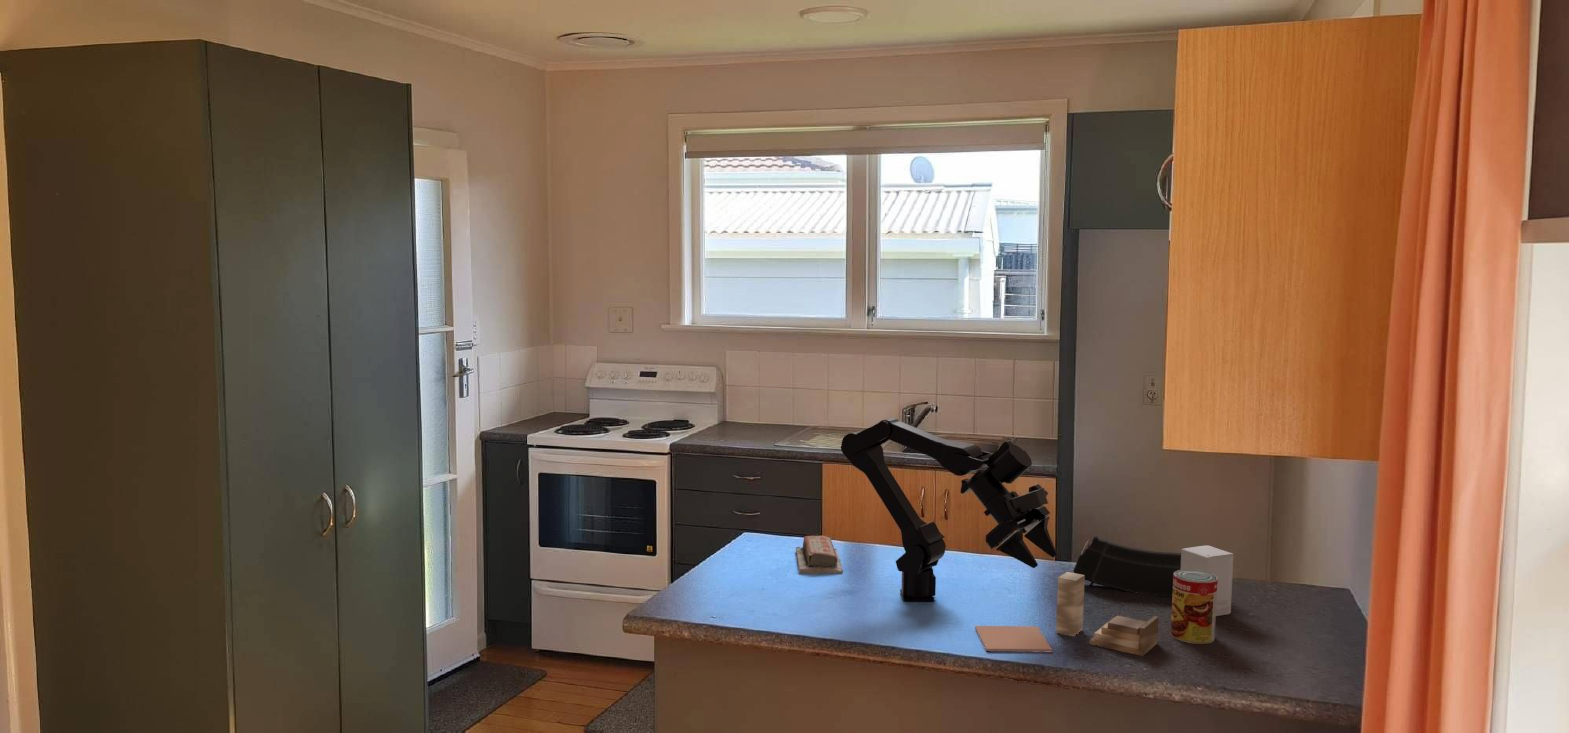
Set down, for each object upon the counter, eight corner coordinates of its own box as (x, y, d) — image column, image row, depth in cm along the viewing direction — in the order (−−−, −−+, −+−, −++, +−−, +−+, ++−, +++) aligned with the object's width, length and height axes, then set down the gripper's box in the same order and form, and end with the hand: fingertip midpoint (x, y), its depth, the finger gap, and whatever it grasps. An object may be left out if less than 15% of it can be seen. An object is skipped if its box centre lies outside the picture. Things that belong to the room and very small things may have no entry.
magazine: (1237, 558, 231) (1098, 505, 240) (1237, 562, 228) (1096, 508, 237) (1208, 631, 235) (1071, 575, 244) (1208, 636, 232) (1070, 579, 241)
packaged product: (795, 533, 265) (836, 533, 265) (795, 553, 265) (836, 553, 266) (799, 554, 247) (843, 554, 247) (799, 575, 248) (843, 575, 248)
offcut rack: (1089, 644, 206) (1090, 617, 205) (1105, 632, 212) (1106, 605, 211) (1142, 656, 200) (1144, 628, 199) (1157, 643, 206) (1158, 616, 205)
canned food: (1166, 628, 214) (1169, 568, 213) (1207, 630, 214) (1211, 570, 212) (1176, 643, 207) (1179, 580, 205) (1219, 645, 206) (1223, 582, 204)
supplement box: (1231, 614, 223) (1235, 553, 222) (1203, 618, 220) (1206, 557, 219) (1205, 603, 230) (1208, 544, 228) (1177, 607, 227) (1180, 547, 226)
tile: (986, 651, 201) (986, 648, 201) (975, 628, 213) (975, 625, 213) (1051, 652, 201) (1052, 649, 201) (1036, 629, 213) (1037, 626, 213)
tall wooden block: (1056, 633, 211) (1058, 577, 210) (1065, 626, 215) (1067, 571, 214) (1073, 637, 209) (1075, 580, 208) (1082, 630, 213) (1084, 575, 212)
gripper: (1002, 481, 208) (1055, 548, 202) (1042, 465, 223) (1093, 527, 217) (963, 515, 213) (1014, 581, 208) (1005, 498, 228) (1053, 559, 223)
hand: (1045, 561), depth 214 cm, fingers open, 9 cm apart
